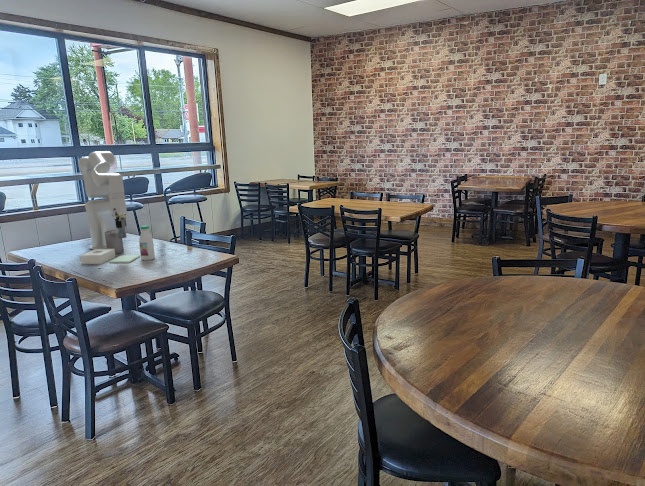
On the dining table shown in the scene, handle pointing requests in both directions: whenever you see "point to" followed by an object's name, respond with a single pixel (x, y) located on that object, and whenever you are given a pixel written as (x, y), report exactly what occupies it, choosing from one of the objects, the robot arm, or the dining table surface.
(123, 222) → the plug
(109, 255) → the block
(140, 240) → the milk bottle
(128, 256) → the pad
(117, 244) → the grey bin
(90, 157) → the robot arm
